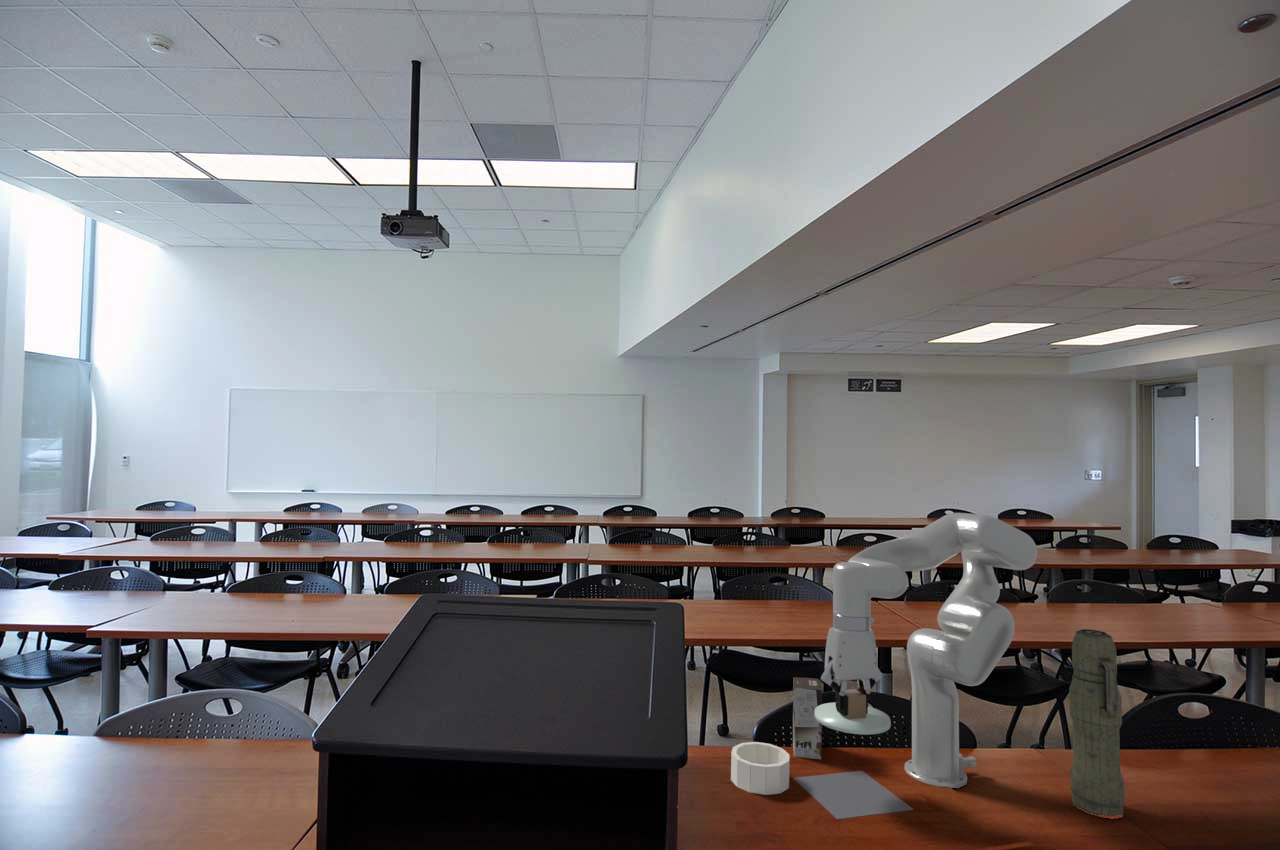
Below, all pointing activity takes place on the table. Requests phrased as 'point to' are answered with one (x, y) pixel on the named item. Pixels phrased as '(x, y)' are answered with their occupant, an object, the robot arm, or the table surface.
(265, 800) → the table surface
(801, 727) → the coffee box
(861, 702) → the lid
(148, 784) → the table surface
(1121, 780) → the thermos
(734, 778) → the bowl
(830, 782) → the mat
